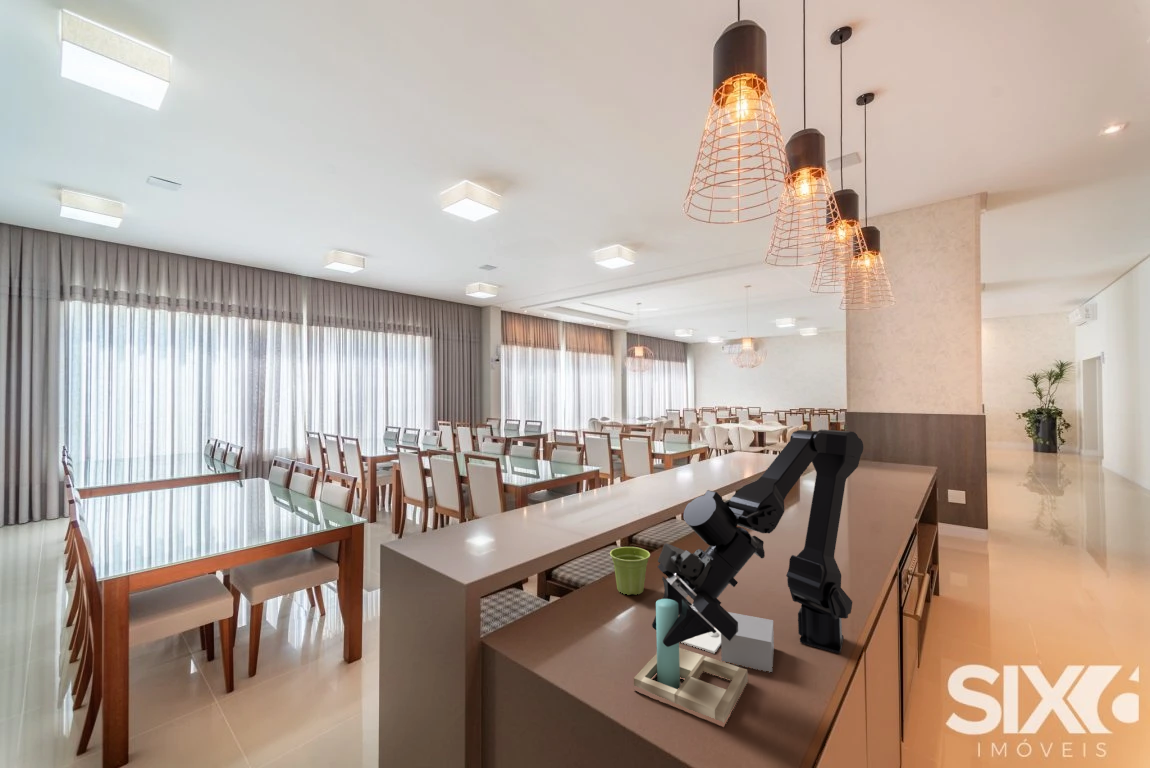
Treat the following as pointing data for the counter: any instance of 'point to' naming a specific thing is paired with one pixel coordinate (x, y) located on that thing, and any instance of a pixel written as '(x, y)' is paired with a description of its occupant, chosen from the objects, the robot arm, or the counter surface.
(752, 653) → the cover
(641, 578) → the plant pot
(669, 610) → the pin
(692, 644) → the pattern tile
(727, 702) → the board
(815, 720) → the counter surface
